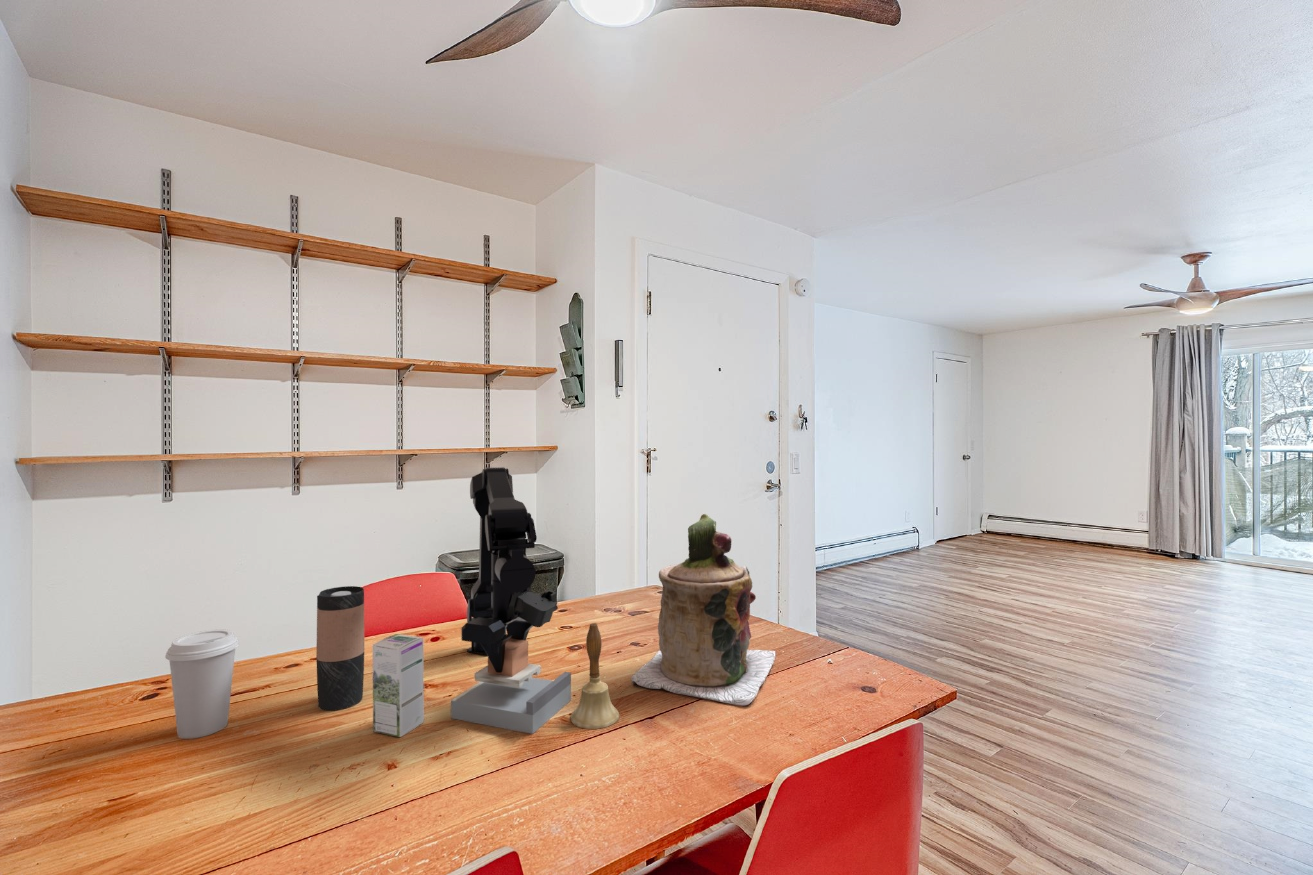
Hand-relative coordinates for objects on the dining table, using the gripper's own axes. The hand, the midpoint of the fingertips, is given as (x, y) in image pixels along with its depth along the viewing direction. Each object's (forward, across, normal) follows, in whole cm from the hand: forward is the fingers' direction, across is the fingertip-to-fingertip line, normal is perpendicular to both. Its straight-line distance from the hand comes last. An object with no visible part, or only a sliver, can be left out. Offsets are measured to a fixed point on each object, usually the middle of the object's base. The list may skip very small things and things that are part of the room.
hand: (508, 666), depth 103 cm
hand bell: (+8, +2, -16) cm, 18 cm away
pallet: (+2, 0, 0) cm, 2 cm away
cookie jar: (+8, +27, -29) cm, 40 cm away
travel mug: (+8, -8, +30) cm, 32 cm away
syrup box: (+8, -12, +13) cm, 19 cm away
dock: (+7, 0, -1) cm, 7 cm away
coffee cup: (+8, -23, +43) cm, 49 cm away
